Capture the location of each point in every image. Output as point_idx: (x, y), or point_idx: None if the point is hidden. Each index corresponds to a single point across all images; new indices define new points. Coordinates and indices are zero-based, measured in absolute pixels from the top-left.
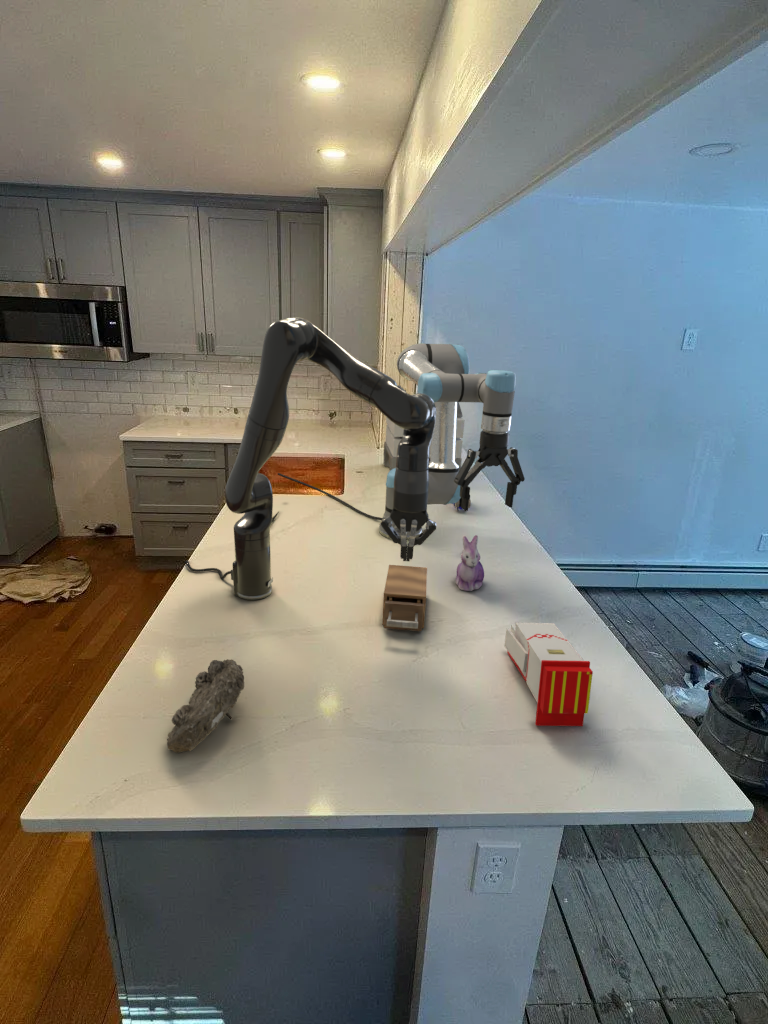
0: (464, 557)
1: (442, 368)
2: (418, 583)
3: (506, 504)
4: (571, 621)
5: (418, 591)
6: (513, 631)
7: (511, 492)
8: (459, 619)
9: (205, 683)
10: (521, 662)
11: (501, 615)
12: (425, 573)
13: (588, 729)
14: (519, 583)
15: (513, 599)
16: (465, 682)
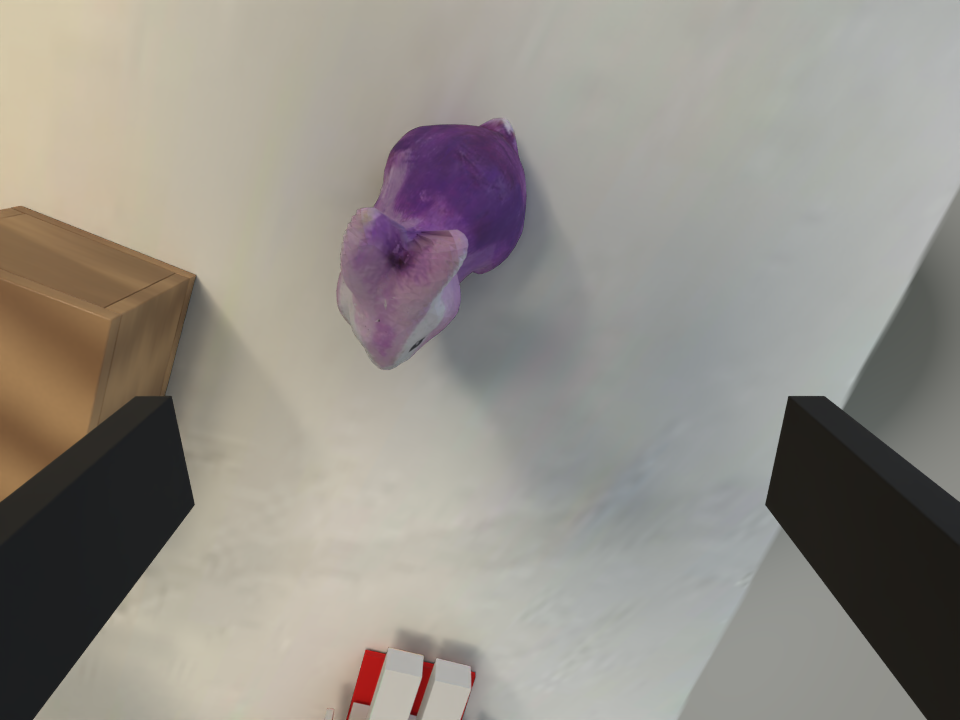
0: (344, 316)
1: None
2: (36, 471)
3: (785, 437)
4: (679, 559)
5: None
6: (377, 689)
7: (891, 662)
8: (289, 464)
9: None
10: None
11: (458, 475)
12: (89, 383)
13: None
14: (696, 260)
15: (573, 385)
16: (203, 710)
